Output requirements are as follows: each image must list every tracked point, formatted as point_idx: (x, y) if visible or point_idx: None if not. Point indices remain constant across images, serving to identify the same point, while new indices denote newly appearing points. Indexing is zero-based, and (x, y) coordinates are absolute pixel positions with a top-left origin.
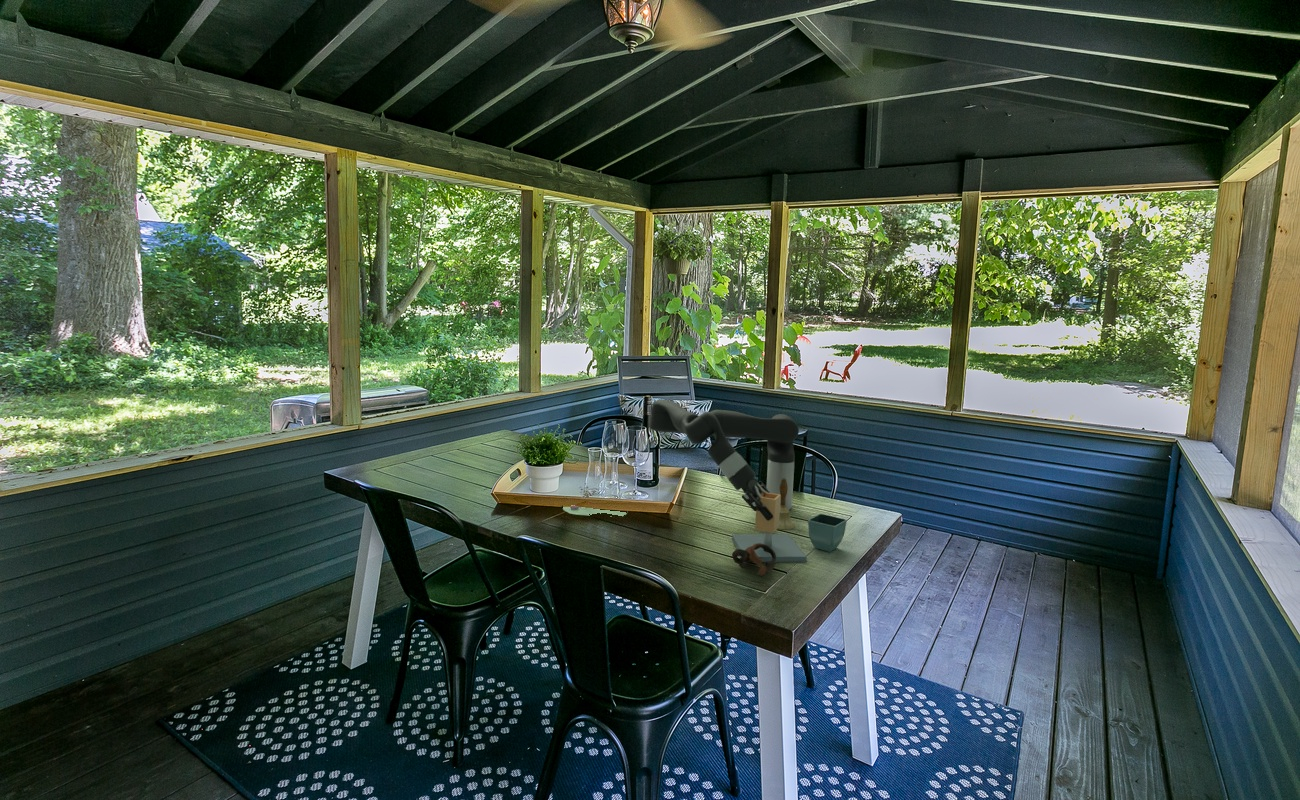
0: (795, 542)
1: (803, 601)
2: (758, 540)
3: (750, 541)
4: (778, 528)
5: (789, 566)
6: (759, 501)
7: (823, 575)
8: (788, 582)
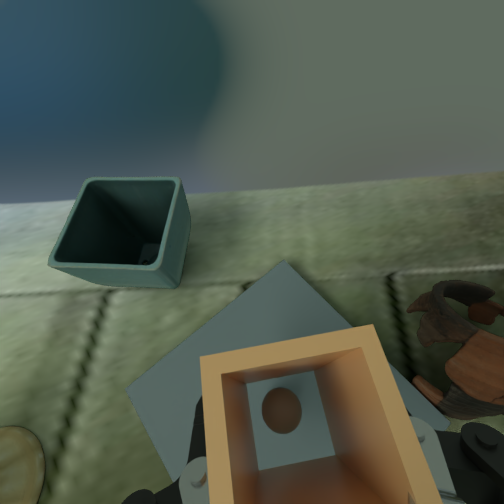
0: (196, 332)
1: (484, 189)
2: (260, 466)
3: None
4: (41, 480)
5: (346, 286)
6: (450, 491)
7: (331, 207)
8: (435, 247)
